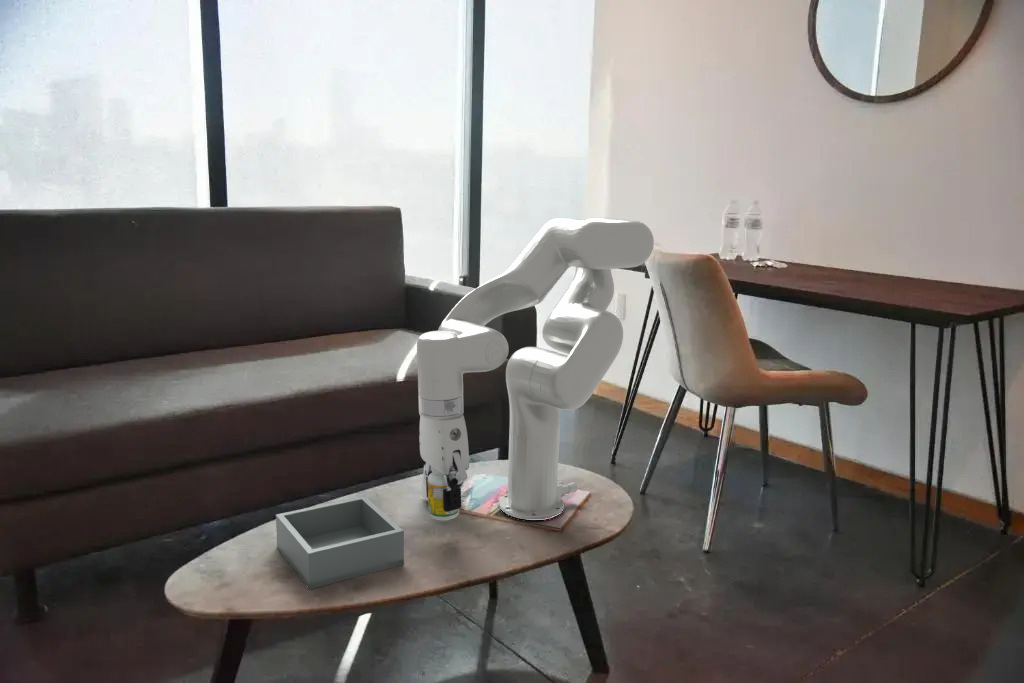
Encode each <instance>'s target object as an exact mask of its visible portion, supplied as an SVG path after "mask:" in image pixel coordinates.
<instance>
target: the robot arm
mask: <svg viewBox="0 0 1024 683" xmlns="http://www.w3.org/2000/svg"><path fill="white" fill-rule="evenodd" d="M654 242H655V240H654V235H653V232H652V231H651V229H650V228H649V226H647V225H646V224H645V223H643V222H641V221H637V220H629V219H622V218H621V219H619V218H611V217H588V218H585V219H578V218H568V217H567V218H565V217H559V218H557V217H556V218H553V219H552V218H551V219H550V220H548V221H547V222H545V223H544V224H543V225H542V226H541V228H540V229H539V230H538V231H537V232H536V234H535V235H534V236H533V238H532V239H530V241H529V242H528V243H527V245H526V246H525V247H524V248H523V249H522V251H521V252H520V253H519V255H517V256H516V258H515V259H514V260H513V262H512V263H511V264H510V265H509V266H508V268H507V269H506V270H505V271H504V272H502V273H501V274H499V275H497V276H495V277H493V278H491V279H489V280H488V281H486V282H485V283H483V284H481V285H480V286H478V287H476V288H474V289H473V290H471V291H470V292H468V293H467V294H466V295H464V297H462V298H461V299H460V300H459V301H458V302H457V303H456V304H455V306H453V308H452V309H451V310H450V311H449V313H448V314H447V315H446V316H445V318H444V319H443V320H442V322H441V324H440V325H439V327H438V330H432V331H427V332H424V333H422V334H421V335H420V336H419V337H418V338H417V341H416V356H417V357H416V358H417V359H416V361H417V363H416V364H417V388H418V391H417V392H418V414H419V416H420V417H419V418H420V419H419V436H418V437H419V438H418V439H419V455H420V457H421V459H422V463H423V466H424V465H425V475H426V476H429V475H430V474H431V473H432V471H431V466H432V467H433V468H435V469H436V470H438V471H439V472H441V473H442V474H443V479H444V484H445V489H444V490H443V509H444V511H445V512H448V511H452V510H455V509H459V510H460V509H461V508H462V488H463V484H464V482H465V481H467V479H468V474H467V471H468V470H469V468H470V454H469V452H470V451H469V440H468V430H467V425H466V420H465V416H464V376H463V375H464V374H466V373H482V372H483V373H485V372H489V371H493V370H495V369H498V368H499V367H501V366H502V365H503V364H504V363H505V362H506V360H507V358H508V355H509V346H510V345H509V343H508V341H507V338H506V337H505V336H504V334H502V333H501V332H500V331H498V330H496V329H494V328H491V327H489V326H486V325H487V324H488V323H490V322H491V321H492V320H494V319H495V318H498V317H500V316H502V315H504V314H507V313H510V312H514V311H519V310H520V311H521V310H524V309H527V308H531V307H534V306H536V305H538V304H541V303H542V302H543V301H544V300H545V298H547V296H548V295H549V293H550V292H551V291H552V290H553V288H554V287H555V285H556V284H557V283H558V282H559V280H560V279H561V278H562V277H563V275H564V274H565V273H566V272H567V271H568V270H569V268H571V267H575V273H574V276H573V278H572V281H571V283H570V284H569V285H568V287H567V289H566V290H565V292H564V293H563V294H562V296H561V297H560V299H559V301H558V302H557V304H555V306H554V307H553V309H552V311H551V312H550V314H548V316H547V318H546V320H545V322H544V324H543V328H542V331H541V332H542V339H543V341H544V342H545V344H546V345H547V346H549V347H550V348H551V349H553V350H555V351H553V350H550V349H546V348H542V347H537V346H525V347H522V348H520V349H518V350H516V351H514V353H512V354H511V356H510V358H509V359H508V362H507V364H506V368H505V382H506V388H507V394H508V402H509V403H508V404H509V431H508V433H509V434H508V435H509V437H508V438H509V439H508V463H507V465H508V466H507V493H505V494H504V495H502V496H501V497H500V498H499V500H498V507H499V506H500V508H499V510H500V509H501V510H502V511H503V512H505V513H506V514H508V515H511V516H513V517H516V518H520V519H545V518H550V517H552V516H555V515H557V514H559V513H561V512H562V510H563V509H564V510H565V502H564V500H563V499H562V497H564V496H565V495H566V494H573V493H576V492H577V491H578V487H577V486H578V485H577V484H576V483H575V482H570V483H566V484H564V481H563V480H559V481H558V477H559V476H558V475H559V456H560V455H559V452H560V434H561V432H560V431H561V418H560V412H559V409H560V410H564V411H574V410H578V409H579V408H581V407H583V405H585V404H586V403H587V401H589V399H590V398H591V397H592V396H593V394H594V392H595V391H596V390H597V387H598V386H599V384H600V383H601V381H602V380H603V379H604V378H605V375H606V374H607V372H608V371H609V369H610V367H611V366H612V365H613V363H614V361H615V360H616V358H617V357H618V355H619V353H620V350H621V348H622V344H623V340H624V329H623V324H622V322H621V321H620V319H619V317H618V316H616V314H614V313H612V312H610V311H608V310H607V309H608V307H609V306H610V305H611V302H612V301H613V298H614V294H615V284H614V278H613V274H612V270H616V269H629V268H637V267H638V266H639V267H640V266H642V265H643V264H645V262H646V261H648V259H649V258H650V257H651V255H652V253H653V249H654V246H655V243H654ZM559 352H561V353H559ZM451 467H454V470H451V471H449V468H451ZM453 474H455V478H453V479H452V480H451V481H450V479H449V475H453ZM426 492H427V498H428V477H426ZM501 510H500V511H501ZM502 511H501V512H502ZM503 512H502V513H503Z"/></svg>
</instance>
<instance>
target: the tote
mask: <svg viewBox="0 0 1024 683" xmlns="http://www.w3.org/2000/svg"><path fill="white" fill-rule="evenodd" d="M275 521H276V522H275V524H276V526H275V527H276V529H275V530H276V549H277V550H278V551H279V552H280V553H281V555H282V556H283V557H284V558H285V560H286V561H287V562H288V564H289V565H290V567H291V568H292V569H293V570H294V571H295V573H296V574H297V575H298V576H299V578H300V579H301V581H303V583H304V584H306V585H307V586H308V587H307V586H306V585H305V586H306V587H307V588H308V590H312V588H313V589H316V587H317V588H320V587H319V586H321V587H323V586H327V585H331V584H335V583H339V582H342V581H347V580H350V579H354V578H357V577H358V578H359V577H361V576H365V575H368V574H372V573H373V574H374V573H378V572H381V571H384V570H387V569H391V568H395V567H399V566H402V565H403V566H404V565H405V530H404V529H403V528H402V527H400V526H399V524H397V523H396V522H395V521H393V519H391V517H389V516H388V515H387V514H386V513H385V512H383V510H381V508H379V507H378V506H377V505H375V504H374V503H373V502H372V500H370V499H369V498H368V497H366V495H364V496H358V497H353V498H348V499H343V500H340V501H336V502H329V503H326V504H321V505H314V506H310V507H306V508H302V509H296V510H292V511H291V510H290V511H287V512H282V513H276V514H275Z"/></svg>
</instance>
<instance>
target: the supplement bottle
mask: <svg viewBox="0 0 1024 683" xmlns="http://www.w3.org/2000/svg"><path fill="white" fill-rule="evenodd" d="M451 470H455V469H454V467H451V468H449V471H451ZM431 471H432V473H431V474H430V475H429V476H428V501H427V502H428V515H429V516H430V517H431V519H434V520H437V521H450V520H453V519H455V518H456V517H458V515H459V514H460V508H459V509H455V510H452V511H448V512H445V511H444V509H443V490H444V489H445V484H444V479H443V474H442V473H441V472H439V471H438V470H436V469H435V468H433V467H432V466H431ZM453 478H455V474H453V475H449V479H450V481H451V480H452V479H453Z"/></svg>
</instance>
